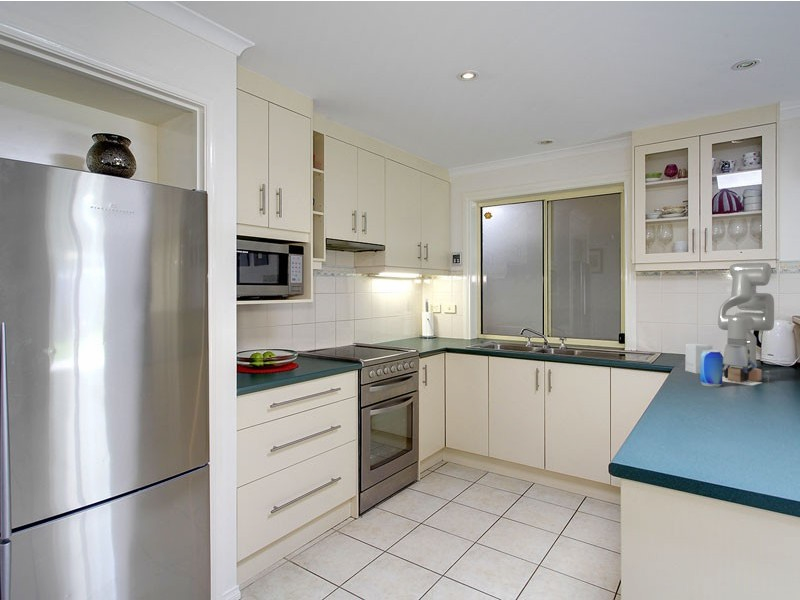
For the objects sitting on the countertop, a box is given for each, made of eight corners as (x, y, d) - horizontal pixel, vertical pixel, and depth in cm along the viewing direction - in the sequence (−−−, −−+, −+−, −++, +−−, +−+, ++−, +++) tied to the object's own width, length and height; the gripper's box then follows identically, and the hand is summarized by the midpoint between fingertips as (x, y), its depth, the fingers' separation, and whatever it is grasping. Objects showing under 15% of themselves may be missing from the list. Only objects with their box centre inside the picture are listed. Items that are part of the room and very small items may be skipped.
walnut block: (732, 379, 221) (732, 367, 221) (744, 381, 217) (744, 368, 217) (727, 380, 218) (728, 367, 218) (739, 382, 214) (740, 369, 214)
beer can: (715, 383, 212) (716, 349, 211) (726, 387, 203) (727, 352, 203) (696, 383, 212) (697, 349, 212) (706, 387, 204) (707, 351, 204)
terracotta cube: (748, 378, 224) (748, 367, 224) (761, 380, 220) (761, 369, 219) (743, 379, 221) (743, 368, 221) (756, 381, 217) (757, 370, 216)
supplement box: (712, 374, 236) (713, 345, 236) (695, 373, 236) (695, 345, 236) (701, 370, 245) (702, 343, 245) (684, 370, 245) (685, 343, 245)
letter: (722, 376, 228) (722, 376, 228) (763, 382, 214) (763, 382, 214) (710, 379, 221) (710, 379, 221) (751, 385, 207) (751, 385, 207)
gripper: (762, 343, 212) (761, 381, 212) (720, 340, 226) (719, 375, 227) (755, 344, 208) (754, 383, 208) (713, 341, 222) (712, 377, 223)
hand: (736, 379), depth 217 cm, fingers open, 6 cm apart
